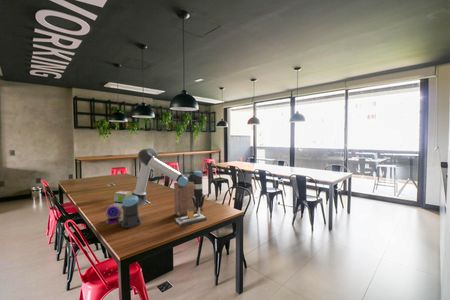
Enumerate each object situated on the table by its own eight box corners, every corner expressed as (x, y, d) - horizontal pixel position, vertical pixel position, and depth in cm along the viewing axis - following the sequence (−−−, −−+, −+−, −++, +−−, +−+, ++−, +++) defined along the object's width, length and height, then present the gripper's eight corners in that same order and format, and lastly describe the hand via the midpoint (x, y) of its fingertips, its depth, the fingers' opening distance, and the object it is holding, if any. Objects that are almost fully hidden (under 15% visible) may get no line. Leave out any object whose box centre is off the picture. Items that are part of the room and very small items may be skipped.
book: (197, 208, 220) (196, 179, 219) (202, 210, 213) (201, 180, 212) (174, 214, 204) (173, 182, 202) (179, 216, 197) (178, 184, 195)
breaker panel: (175, 220, 187) (175, 218, 187) (199, 215, 199) (199, 213, 199) (180, 225, 178) (180, 222, 178) (205, 219, 190) (205, 216, 190)
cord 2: (180, 225, 177) (180, 223, 177) (205, 219, 189) (205, 217, 189) (181, 226, 175) (181, 224, 175) (206, 219, 188) (206, 218, 188)
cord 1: (174, 219, 190) (174, 217, 190) (197, 214, 203) (197, 212, 202) (174, 220, 189) (174, 218, 189) (198, 214, 201) (198, 213, 201)
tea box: (114, 206, 231) (113, 192, 230) (121, 203, 241) (120, 190, 240) (125, 207, 227) (125, 193, 226) (132, 204, 236) (131, 191, 235)
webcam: (104, 224, 182) (103, 207, 181) (108, 219, 194) (107, 202, 193) (121, 222, 185) (120, 205, 185) (123, 217, 198) (123, 201, 197)
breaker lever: (187, 217, 189) (187, 209, 189) (191, 216, 191) (191, 208, 191) (189, 218, 186) (189, 210, 185) (193, 217, 188) (193, 209, 187)
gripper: (193, 190, 185) (193, 217, 186) (206, 188, 192) (207, 214, 193) (189, 188, 191) (190, 214, 192) (202, 186, 198) (203, 211, 199)
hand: (198, 214), depth 193 cm, fingers closed
